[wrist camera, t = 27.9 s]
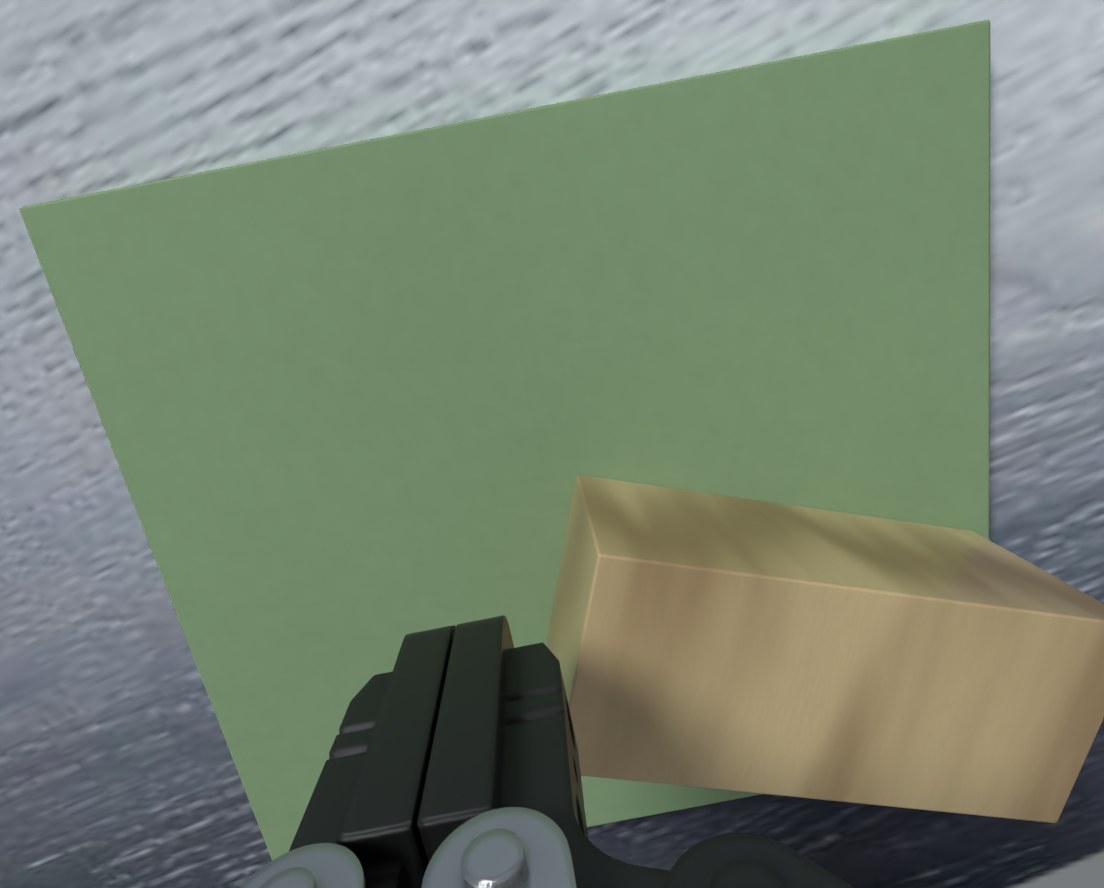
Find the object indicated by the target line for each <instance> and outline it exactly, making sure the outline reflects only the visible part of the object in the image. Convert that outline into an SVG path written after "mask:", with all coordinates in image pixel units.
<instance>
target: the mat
mask: <svg viewBox="0 0 1104 888" xmlns="http://www.w3.org/2000/svg"><path fill="white" fill-rule="evenodd" d="M20 213H21V215H22V218H23V220H24V223H25V226H26V228H27V231H28V233H29V236H30V238H31V241H32V244H33V246H34V249H35V251H36V254H37V256H38V259H39V262H40V264H41V267H42V269H43V272H44V274H45V277H46V280H47V282H48V285H49V287H50V290H51V292H52V295H53V298H54V300H55V303H56V305H57V308H58V310H59V313H60V316H61V318H62V321H63V323H64V326H65V328H66V331H67V334H68V336H69V339H70V341H71V344H72V346H73V349H74V352H75V354H76V357H77V359H78V362H79V364H80V367H81V370H82V372H83V375H84V377H85V380H86V382H87V385H88V388H89V390H90V393H91V395H92V398H93V400H94V403H95V406H96V408H97V411H98V413H99V416H100V418H101V421H102V424H103V426H104V429H105V431H106V434H107V436H108V439H109V442H110V444H111V447H112V449H113V452H114V454H115V457H116V460H117V462H118V465H119V467H120V470H121V472H122V475H123V478H124V480H125V483H126V485H127V488H128V490H129V493H130V496H131V498H132V501H133V503H134V506H135V508H136V511H137V514H138V516H139V519H140V521H141V524H142V526H143V529H144V532H145V534H146V537H147V539H148V542H149V544H150V547H151V550H152V552H153V555H154V557H155V560H156V562H157V565H158V568H159V570H160V573H161V575H162V578H163V580H164V583H165V586H166V588H167V591H168V593H169V596H170V598H171V601H172V604H173V606H174V609H175V611H176V614H177V616H178V619H179V622H180V624H181V627H182V629H183V632H184V634H185V637H186V640H187V642H188V645H189V647H190V650H191V652H192V655H193V658H194V660H195V663H196V665H197V668H198V670H199V673H200V676H201V678H202V681H203V683H204V686H205V688H206V691H207V694H208V696H209V699H210V701H211V704H212V706H213V709H214V712H215V714H216V717H217V719H218V722H219V724H220V727H221V730H222V732H223V735H224V737H225V740H226V742H227V745H228V748H229V750H230V753H231V755H232V758H233V760H234V763H235V766H236V768H237V771H238V773H239V776H240V778H241V781H242V784H243V786H244V789H245V791H246V794H247V796H248V799H249V802H250V804H251V807H252V809H253V812H254V814H255V817H256V820H257V822H258V825H259V827H260V830H261V832H262V835H263V838H264V840H265V843H266V845H267V848H268V850H269V853H270V856H271V858H272V860H274V859H276V858H277V857H279V856H281V855H283V854H285V853H287V852H289V849H290V847H291V844H292V842H293V840H294V837H295V835H296V832H297V830H298V827H299V825H300V823H301V820H302V818H303V815H304V813H305V810H306V808H307V806H308V803H309V801H310V798H311V796H312V794H313V791H314V789H315V786H316V784H317V781H318V779H319V777H320V774H321V772H322V769H323V767H324V764H325V762H326V760H329V752H330V750H331V747H332V745H333V743H334V740H335V738H336V735H339V728H340V726H341V723H342V721H343V718H344V716H345V713H346V711H347V709H348V706H349V704H350V701H351V700H352V699H353V698H354V697H355V696H356V695H357V693H358V692H359V691H360V690H361V689H362V688H363V687H364V686H365V685H366V684H367V682H368V681H369V680H370V679H371V678H372V677H373V676H374V675H377V674H382V673H387V672H393V669H394V666H395V663H396V660H397V657H398V654H399V651H400V648H401V645H402V642H403V639H404V637H405V636H406V635H407V634H410V633H415V632H421V631H426V630H431V629H436V628H441V627H447V626H452V625H455V626H457V624H461V623H466V622H472V621H477V620H482V619H487V618H492V617H497V616H503V615H505V616H506V618H507V621H508V624H509V627H510V631H511V636H512V640H513V644H514V648H516V647H521V646H526V645H532V644H537V643H542V642H543V643H544V644H545V645H546V646H547V635H548V629H549V624H550V618H551V613H552V607H553V601H554V596H555V590H556V585H557V579H558V574H559V568H560V563H561V557H562V552H563V546H564V540H565V535H566V529H567V524H568V518H569V513H570V507H571V502H572V496H573V491H574V485H575V479H576V476H577V475H583V476H590V477H597V478H604V479H611V480H618V481H625V482H632V483H639V484H646V485H653V486H660V487H667V488H674V489H681V490H688V491H695V492H702V493H709V494H716V495H723V496H730V497H737V498H744V499H751V500H759V501H766V502H773V503H780V504H787V505H794V506H801V507H808V508H815V509H822V510H829V511H836V512H843V513H850V514H857V515H864V516H871V517H878V518H885V519H892V520H899V521H906V522H913V523H920V524H927V525H934V526H941V527H948V528H955V529H962V530H969V531H973V532H975V533H977V534H979V535H981V536H982V537H984V538H986V539H988V540H989V447H990V21H988V20H985V21H980V22H975V23H969V24H964V25H959V26H954V27H949V28H944V29H938V30H933V31H928V32H923V33H918V34H913V35H907V36H902V37H897V38H892V39H887V40H882V41H876V42H871V43H866V44H861V45H856V46H851V47H845V48H840V49H835V50H830V51H825V52H820V53H815V54H809V55H804V56H799V57H794V58H789V59H784V60H778V61H773V62H768V63H763V64H758V65H753V66H747V67H742V68H737V69H732V70H727V71H722V72H716V73H711V74H706V75H701V76H696V77H691V78H686V79H680V80H675V81H670V82H665V83H660V84H655V85H649V86H644V87H639V88H634V89H629V90H624V91H618V92H613V93H608V94H603V95H598V96H593V97H587V98H582V99H577V100H572V101H567V102H562V103H556V104H551V105H546V106H541V107H536V108H531V109H526V110H520V111H515V112H510V113H505V114H500V115H495V116H489V117H484V118H479V119H474V120H469V121H464V122H458V123H453V124H448V125H443V126H438V127H433V128H427V129H422V130H417V131H412V132H407V133H402V134H397V135H391V136H386V137H381V138H376V139H371V140H366V141H360V142H355V143H350V144H345V145H340V146H335V147H329V148H324V149H319V150H314V151H309V152H304V153H298V154H293V155H288V156H283V157H278V158H273V159H267V160H262V161H257V162H252V163H247V164H242V165H237V166H231V167H226V168H221V169H216V170H211V171H206V172H200V173H195V174H190V175H185V176H180V177H175V178H169V179H164V180H159V181H154V182H149V183H144V184H138V185H133V186H128V187H123V188H118V189H113V190H108V191H102V192H97V193H92V194H87V195H82V196H77V197H71V198H66V199H61V200H56V201H51V202H46V203H40V204H35V205H30V206H25V207H22V208H20ZM581 782H582V790H583V798H584V808H585V816H586V824H587V827H592V826H597V825H602V824H608V823H613V822H618V821H623V820H629V819H634V818H639V817H645V816H650V815H655V814H660V813H666V812H671V811H676V810H682V809H687V808H692V807H697V806H703V805H708V804H713V803H719V802H724V801H729V800H734V799H740V798H745V797H750V796H756V795H761V794H760V793H750V792H740V791H730V790H720V789H710V788H700V787H690V786H681V785H671V784H661V783H651V782H641V781H631V780H621V779H611V778H601V777H591V776H581Z"/></svg>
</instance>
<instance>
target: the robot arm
mask: <svg viewBox="0 0 1104 888" xmlns="http://www.w3.org/2000/svg"><path fill="white" fill-rule="evenodd" d="M239 888H855V887H853V886H852V885H850V884H849V883H847V882H845V881H844V880H842V879H841V878H839V877H837V876H836V875H834V874H833V873H831V872H829V871H828V870H826V869H825V868H823V867H821V866H820V865H818V864H817V863H815V862H813V861H812V860H810V859H809V858H807V857H805V856H804V855H802V854H801V853H799V852H797V851H796V850H794V849H792V848H791V847H789V846H787V845H785V844H783V843H781V842H779V841H776V840H773V839H771V838H768V837H764V836H760V835H755V834H747V833H730V834H722V835H718V836H714V837H711V838H708V839H706V840H704V841H701V842H699V843H697V844H696V845H694V846H693V847H691V848H690V849H688V850H687V851H686V852H685V853H684V854H683V855H682V856H681V857H680V858H679V859H678V860H677V862H676V863H675V865H674V866H673V867H672V869H671V871H668V870H661V869H654V868H647V867H640V866H635V865H631V864H626V863H624V862H621V861H619V860H616V859H613V858H612V857H610V856H608V855H606V854H605V853H603V852H602V851H600V850H599V849H598V848H597V847H595V846H594V845H593V844H592V843H591V842H590V841H589V840H588V833H587V824H586V816H585V808H584V798H583V790H582V782H581V772H580V764H579V755H578V747H577V742H576V738H575V733H574V728H573V723H572V719H571V714H570V709H569V705H568V700H567V695H566V691H565V686H564V681H563V677H562V672H561V667H560V663H559V660H558V659H557V658H556V657H555V655H554V654H553V653H552V652H551V651H550V650H549V648H548V647H547V646H546V645H545V644H544V643H543V642H542V643H537V644H532V645H526V646H521V647H516V648H514V644H513V640H512V636H511V631H510V627H509V624H508V621H507V618H506V616H505V615H503V616H497V617H492V618H487V619H482V620H477V621H472V622H466V623H461V624H457V626H455V625H452V626H447V627H441V628H436V629H431V630H426V631H421V632H415V633H410V634H407V635H406V636H405V637H404V639H403V642H402V645H401V648H400V651H399V654H398V657H397V660H396V663H395V666H394V669H393V672H387V673H382V674H377V675H374V676H373V677H372V678H371V679H370V680H369V681H368V682H367V684H366V685H365V686H364V687H363V688H362V689H361V690H360V691H359V692H358V693H357V695H356V696H355V697H354V698H353V699H352V700H351V701H350V704H349V706H348V709H347V711H346V713H345V716H344V718H343V721H342V723H341V726H340V728H339V735H336V738H335V740H334V743H333V745H332V747H331V750H330V752H329V760H326V762H325V764H324V767H323V769H322V772H321V774H320V777H319V779H318V781H317V784H316V786H315V789H314V791H313V794H312V796H311V798H310V801H309V803H308V806H307V808H306V810H305V813H304V815H303V818H302V820H301V823H300V825H299V827H298V830H297V832H296V835H295V837H294V840H293V842H292V844H291V847H290V849H289V852H287V853H285V854H283V855H281V856H279V857H277V858H276V859H274V860H272V861H271V862H269V863H268V864H266V865H265V866H263V867H262V868H261V869H259V870H258V871H257V872H255V873H254V874H253V875H252V876H251V877H250V878H249V879H247V880H246V881H245V882H244V883H243V884H242V885H241V886H240V887H239Z"/></svg>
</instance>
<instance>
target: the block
mask: <svg viewBox="0 0 1104 888" xmlns="http://www.w3.org/2000/svg"><path fill="white" fill-rule="evenodd" d="M547 647H548V648H549V650H550V651H551V652H552V653H553V654H554V655H555V657H556V658H557V659H558V660H559V663H560V667H561V672H562V677H563V681H564V686H565V691H566V695H567V700H568V705H569V709H570V714H571V719H572V723H573V728H574V733H575V738H576V742H577V747H578V755H579V764H580V772H581V776H591V777H601V778H611V779H621V780H631V781H641V782H651V783H661V784H671V785H681V786H690V787H700V788H710V789H720V790H730V791H740V792H750V793H760V794H770V795H780V796H790V797H800V798H810V799H820V800H830V801H840V802H850V803H860V804H870V805H880V806H890V807H900V808H909V809H919V810H929V811H939V812H949V813H959V814H969V815H979V816H989V817H999V818H1009V819H1019V820H1029V821H1039V822H1049V823H1056V822H1057V821H1058V819H1059V817H1060V815H1061V813H1062V810H1063V808H1064V806H1065V804H1066V801H1067V799H1068V797H1069V795H1070V793H1071V790H1072V788H1073V786H1074V784H1075V781H1076V779H1077V777H1078V775H1079V773H1080V770H1081V768H1082V766H1083V764H1084V761H1085V759H1086V757H1087V755H1088V752H1089V750H1090V748H1091V746H1092V744H1093V741H1094V739H1095V737H1096V735H1097V732H1098V730H1099V728H1100V726H1101V724H1102V721H1103V719H1104V604H1103V603H1101V602H1100V601H1098V600H1096V599H1094V598H1092V597H1091V596H1089V595H1087V594H1085V593H1083V592H1082V591H1080V590H1078V589H1076V588H1074V587H1073V586H1071V585H1069V584H1067V583H1065V582H1064V581H1062V580H1060V579H1058V578H1056V577H1055V576H1053V575H1051V574H1049V573H1047V572H1046V571H1044V570H1042V569H1040V568H1038V567H1036V566H1035V565H1033V564H1031V563H1029V562H1027V561H1026V560H1024V559H1022V558H1020V557H1018V556H1017V555H1015V554H1013V553H1011V552H1009V551H1008V550H1006V549H1004V548H1002V547H1000V546H999V545H997V544H995V543H993V542H991V541H990V540H988V539H986V538H984V537H982V536H981V535H979V534H977V533H975V532H973V531H969V530H962V529H955V528H948V527H941V526H934V525H927V524H920V523H913V522H906V521H899V520H892V519H885V518H878V517H871V516H864V515H857V514H850V513H843V512H836V511H829V510H822V509H815V508H808V507H801V506H794V505H787V504H780V503H773V502H766V501H759V500H751V499H744V498H737V497H730V496H723V495H716V494H709V493H702V492H695V491H688V490H681V489H674V488H667V487H660V486H653V485H646V484H639V483H632V482H625V481H618V480H611V479H604V478H597V477H590V476H583V475H577V476H576V479H575V485H574V491H573V496H572V502H571V507H570V513H569V518H568V524H567V529H566V535H565V540H564V546H563V552H562V557H561V563H560V568H559V574H558V579H557V585H556V590H555V596H554V601H553V607H552V613H551V618H550V624H549V629H548V635H547Z"/></svg>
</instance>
